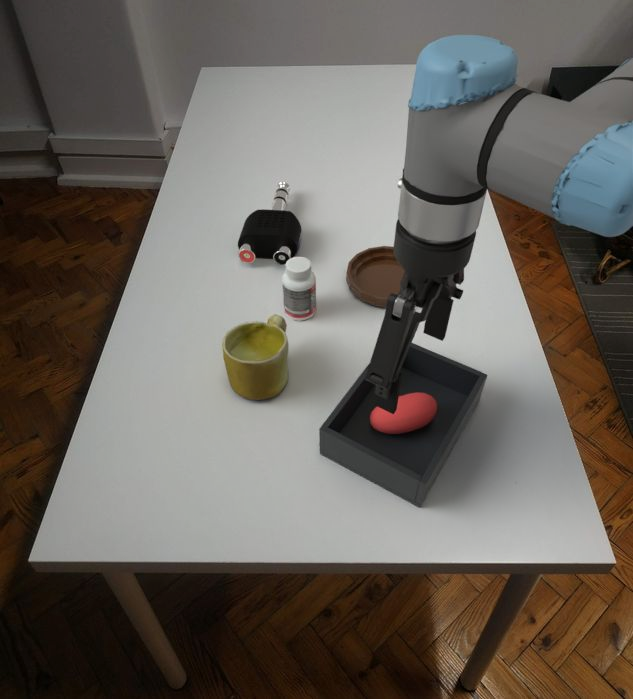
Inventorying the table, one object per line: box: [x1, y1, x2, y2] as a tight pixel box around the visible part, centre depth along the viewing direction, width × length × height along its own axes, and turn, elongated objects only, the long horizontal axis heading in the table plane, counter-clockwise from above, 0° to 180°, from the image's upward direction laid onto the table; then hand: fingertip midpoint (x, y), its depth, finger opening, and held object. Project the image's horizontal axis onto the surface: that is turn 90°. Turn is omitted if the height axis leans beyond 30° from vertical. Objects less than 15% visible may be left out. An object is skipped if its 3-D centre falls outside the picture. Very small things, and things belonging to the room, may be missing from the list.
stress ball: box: [370, 392, 437, 434], centre depth 74 cm, size 5×9×6 cm, turn 98°
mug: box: [221, 313, 289, 401], centre depth 81 cm, size 12×10×10 cm
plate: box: [345, 245, 405, 308], centre depth 96 cm, size 14×14×2 cm
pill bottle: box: [281, 256, 317, 322], centre depth 89 cm, size 5×5×10 cm
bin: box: [318, 342, 488, 509], centre depth 74 cm, size 15×20×6 cm
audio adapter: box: [237, 181, 303, 266], centre depth 107 cm, size 11×5×25 cm
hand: (410, 369), depth 68 cm, fingers open, 13 cm apart
